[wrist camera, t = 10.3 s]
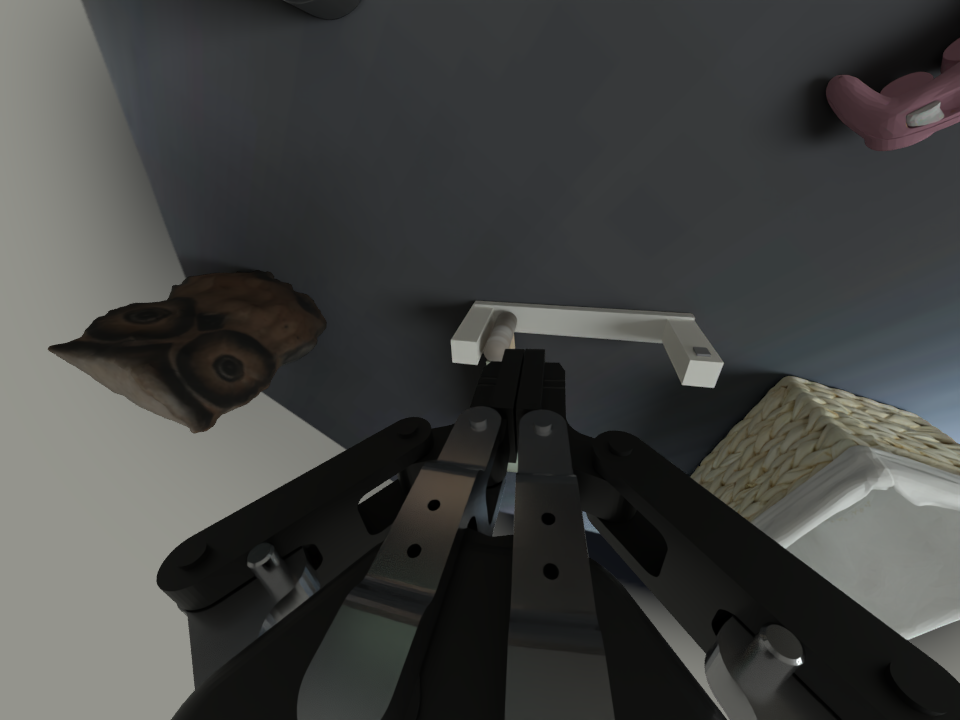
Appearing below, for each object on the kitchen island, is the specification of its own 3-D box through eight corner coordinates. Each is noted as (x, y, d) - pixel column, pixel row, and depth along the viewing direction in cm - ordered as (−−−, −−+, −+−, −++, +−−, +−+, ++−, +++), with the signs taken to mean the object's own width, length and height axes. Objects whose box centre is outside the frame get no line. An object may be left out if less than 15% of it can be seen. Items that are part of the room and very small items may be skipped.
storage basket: (771, 536, 47) (841, 673, 35) (653, 496, 48) (682, 615, 36) (940, 408, 34) (1148, 555, 22) (775, 356, 35) (884, 468, 23)
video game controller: (819, 135, 27) (893, 176, 23) (815, 82, 24) (899, 116, 20) (1005, 16, 22) (1143, 39, 18) (1027, -67, 20) (1196, -64, 15)
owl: (223, 262, 44) (11, 333, 27) (307, 254, 41) (124, 328, 24) (267, 350, 50) (116, 452, 33) (343, 349, 47) (217, 460, 30)
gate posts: (474, 325, 41) (452, 365, 33) (473, 300, 39) (450, 336, 32) (683, 340, 36) (712, 391, 29) (692, 313, 35) (725, 359, 27)
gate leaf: (496, 311, 37) (481, 341, 32) (516, 311, 37) (506, 341, 31) (509, 429, 46) (500, 470, 40) (526, 430, 45) (519, 472, 39)
